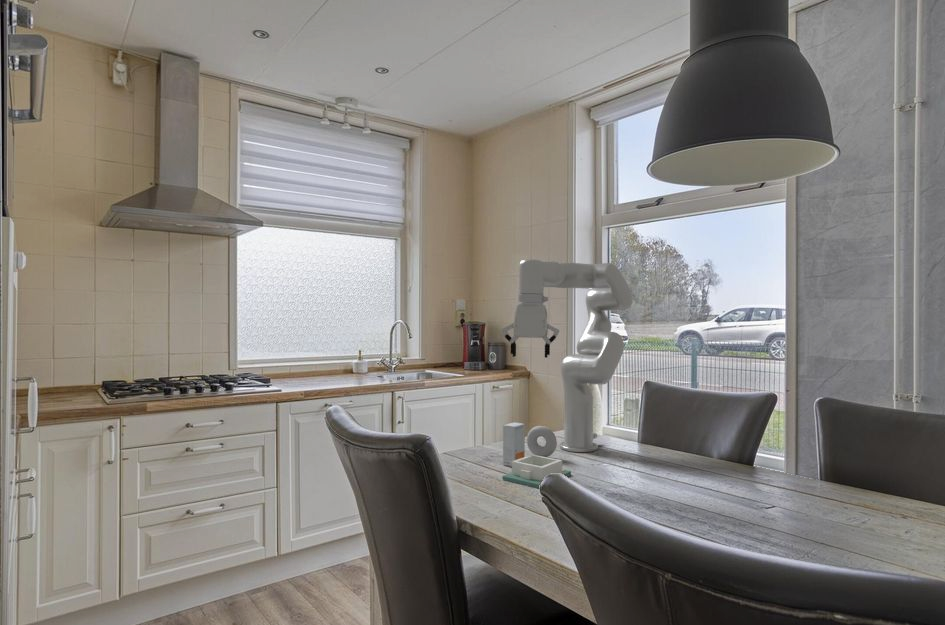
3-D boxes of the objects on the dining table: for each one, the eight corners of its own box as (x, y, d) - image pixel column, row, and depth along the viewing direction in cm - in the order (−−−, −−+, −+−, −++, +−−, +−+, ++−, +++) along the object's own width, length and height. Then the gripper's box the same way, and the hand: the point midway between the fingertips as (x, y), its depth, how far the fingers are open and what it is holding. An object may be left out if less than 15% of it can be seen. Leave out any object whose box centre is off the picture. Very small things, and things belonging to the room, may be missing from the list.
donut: (524, 456, 174) (524, 425, 174) (529, 454, 177) (529, 423, 177) (554, 460, 169) (554, 428, 169) (558, 458, 172) (558, 426, 172)
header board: (535, 467, 162) (535, 452, 162) (571, 474, 154) (570, 458, 154) (502, 479, 150) (502, 463, 150) (539, 488, 142) (539, 471, 142)
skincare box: (514, 467, 162) (514, 426, 162) (502, 465, 164) (502, 425, 164) (525, 463, 167) (525, 423, 167) (513, 460, 169) (513, 421, 169)
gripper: (560, 301, 169) (559, 357, 168) (504, 301, 172) (503, 355, 171) (559, 300, 161) (558, 358, 161) (501, 299, 165) (500, 356, 164)
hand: (530, 356), depth 166 cm, fingers open, 9 cm apart
